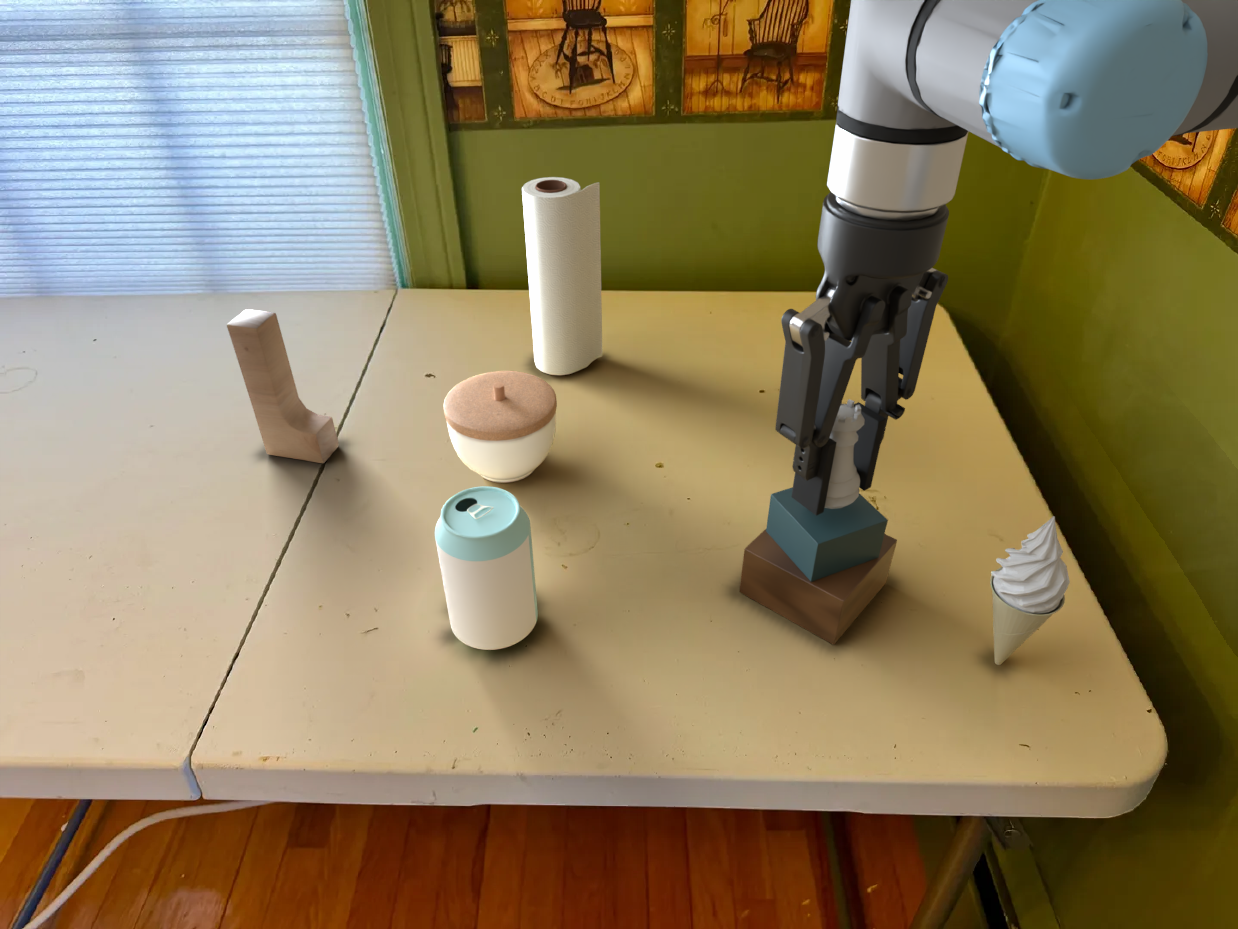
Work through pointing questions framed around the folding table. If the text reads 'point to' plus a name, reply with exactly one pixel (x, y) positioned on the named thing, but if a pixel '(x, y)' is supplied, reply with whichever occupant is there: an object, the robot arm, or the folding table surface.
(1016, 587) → the ice cream cone
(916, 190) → the robot arm
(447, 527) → the can
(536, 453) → the trinket box
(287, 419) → the wooden block
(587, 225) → the paper towel roll
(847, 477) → the rook chess piece
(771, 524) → the top block
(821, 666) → the folding table surface
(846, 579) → the base block
